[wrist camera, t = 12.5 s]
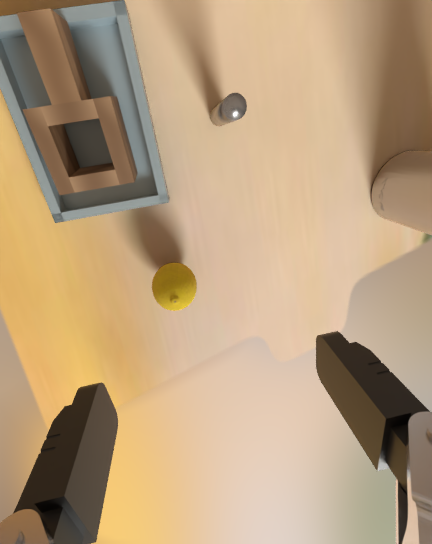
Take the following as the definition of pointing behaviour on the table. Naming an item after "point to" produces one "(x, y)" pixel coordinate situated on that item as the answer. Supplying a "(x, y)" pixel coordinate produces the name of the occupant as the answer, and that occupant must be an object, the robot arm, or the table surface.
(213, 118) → the peg
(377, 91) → the table surface
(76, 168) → the collar
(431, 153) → the robot arm
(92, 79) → the tray
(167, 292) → the lemon
